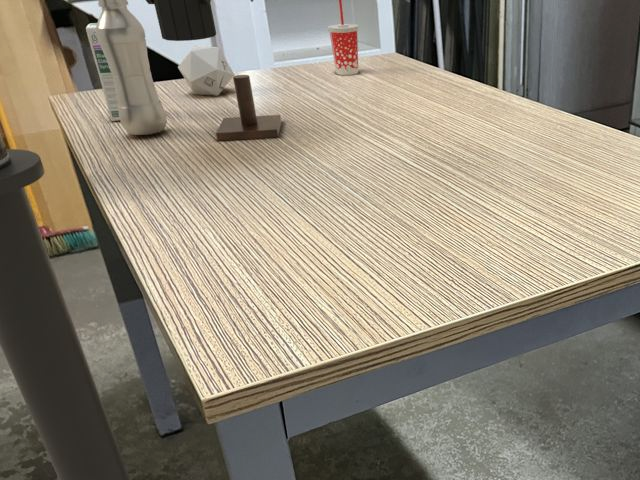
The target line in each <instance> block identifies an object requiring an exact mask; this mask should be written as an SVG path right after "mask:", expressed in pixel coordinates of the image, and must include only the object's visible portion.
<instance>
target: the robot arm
mask: <svg viewBox="0 0 640 480" xmlns="http://www.w3.org/2000/svg"><path fill="white" fill-rule="evenodd" d="M211 1H212V0H201V2H202V3H203V4H210V3H211ZM145 2H146V3H147V4H148V5H154V1H153V0H145ZM7 149H8V148H7V146H6V144H5V141H4V139H3V136H2V133H1V132H0V169H2V168H4V167H6V166H8V165H9V164H10V163H11V158H10V155H9V153H8V152H7Z"/></svg>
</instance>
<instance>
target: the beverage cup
mask: <svg viewBox="0 0 640 480" xmlns="http://www.w3.org/2000/svg"><path fill="white" fill-rule="evenodd" d="M338 2H339V13H340V23H339V24H338V23H337V24H331V25H328V26H327V29H328V30H327V31H328V32H329V38H330V43H331V48H332V56H333V61H334V68H335V72H336V75H339V76H350V75H351V76H352V75H357V74H359V49H358V48H359V47H358V46H359V44H358V31H359V25H358V24H355V23H344V22H345V21H344V12H343V4H342V3H343V2H342V0H338Z"/></svg>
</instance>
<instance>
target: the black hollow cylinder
mask: <svg viewBox="0 0 640 480" xmlns="http://www.w3.org/2000/svg"><path fill="white" fill-rule="evenodd" d="M153 1H154V4H153V6H154V8H155V13H156V18H157V22H158V27H159V30H160V34H161V38H162V39H163V40H166V41H172V42H185V41H186V42H187V41H199V40H206V39H210V38H214V37H216V35H217V29H216V25H215V19H214V15H213V9H212V3H211V2H210V4H203V3H202V2H201V0H153Z"/></svg>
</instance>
